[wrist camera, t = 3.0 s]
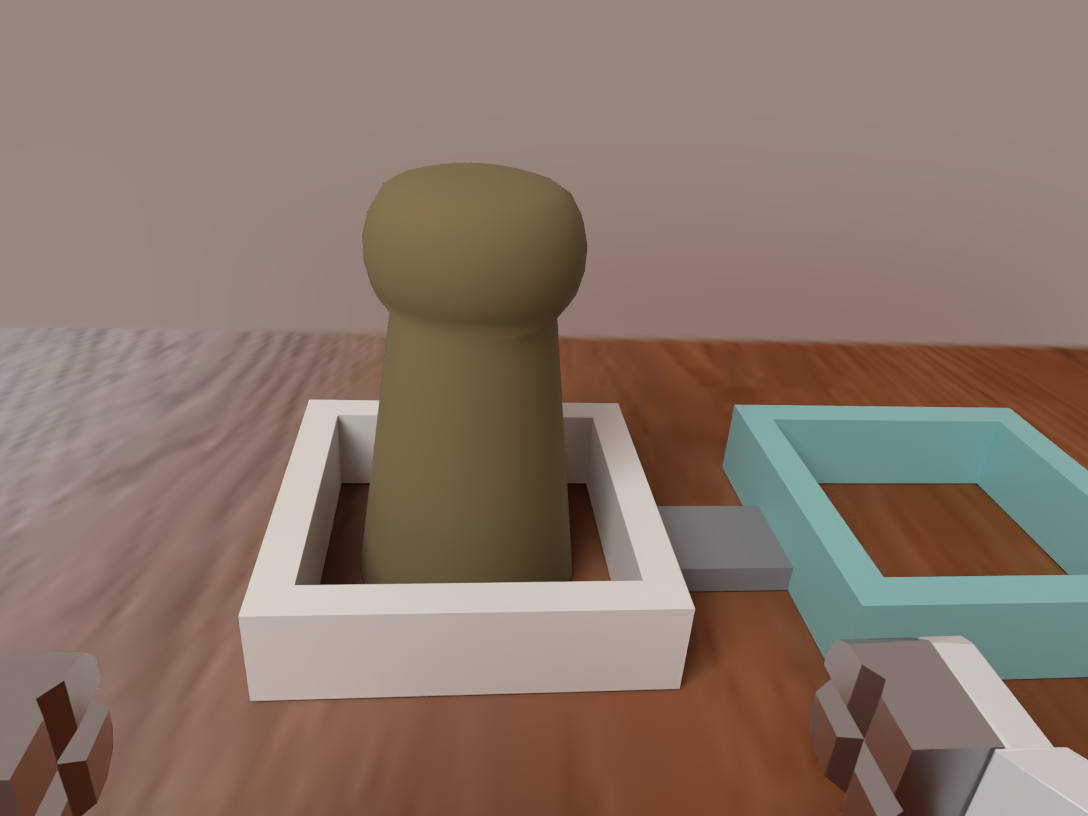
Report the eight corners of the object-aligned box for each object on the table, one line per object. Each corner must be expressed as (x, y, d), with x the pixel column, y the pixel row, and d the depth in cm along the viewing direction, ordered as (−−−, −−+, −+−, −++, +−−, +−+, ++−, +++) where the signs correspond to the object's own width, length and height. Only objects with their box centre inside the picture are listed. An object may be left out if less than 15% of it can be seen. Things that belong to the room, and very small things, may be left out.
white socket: (722, 467, 29) (734, 404, 28) (837, 684, 20) (862, 605, 19) (314, 466, 28) (309, 399, 26) (250, 701, 19) (238, 616, 18)
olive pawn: (394, 490, 27) (385, 136, 22) (581, 513, 26) (617, 157, 21) (328, 618, 21) (296, 189, 16) (561, 649, 21) (604, 218, 16)
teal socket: (986, 468, 30) (1009, 408, 29) (1204, 673, 22) (1247, 599, 20) (722, 467, 29) (734, 404, 28) (837, 684, 20) (862, 605, 19)
